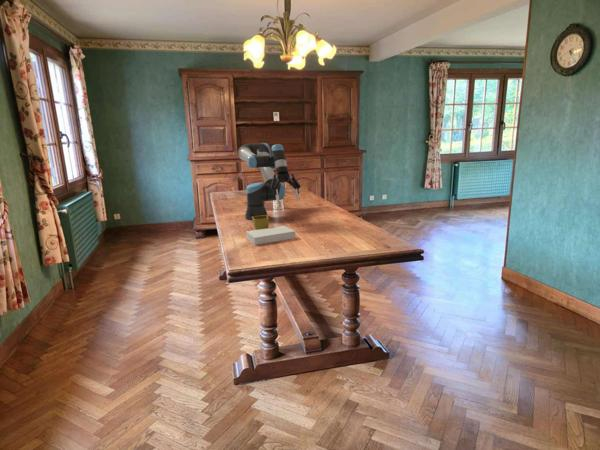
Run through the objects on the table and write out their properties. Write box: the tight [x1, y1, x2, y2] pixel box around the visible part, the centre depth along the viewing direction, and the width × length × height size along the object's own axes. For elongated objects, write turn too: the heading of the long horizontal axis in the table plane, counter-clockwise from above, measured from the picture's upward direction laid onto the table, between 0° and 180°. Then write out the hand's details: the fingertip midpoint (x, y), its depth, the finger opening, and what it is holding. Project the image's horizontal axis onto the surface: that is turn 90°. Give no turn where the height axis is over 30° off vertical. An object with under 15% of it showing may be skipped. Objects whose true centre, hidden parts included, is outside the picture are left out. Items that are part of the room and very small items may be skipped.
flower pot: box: [252, 214, 270, 230], centre depth 230 cm, size 9×9×9 cm
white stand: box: [245, 225, 296, 246], centre depth 217 cm, size 14×24×4 cm, turn 117°
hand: (288, 199), depth 239 cm, fingers open, 13 cm apart
